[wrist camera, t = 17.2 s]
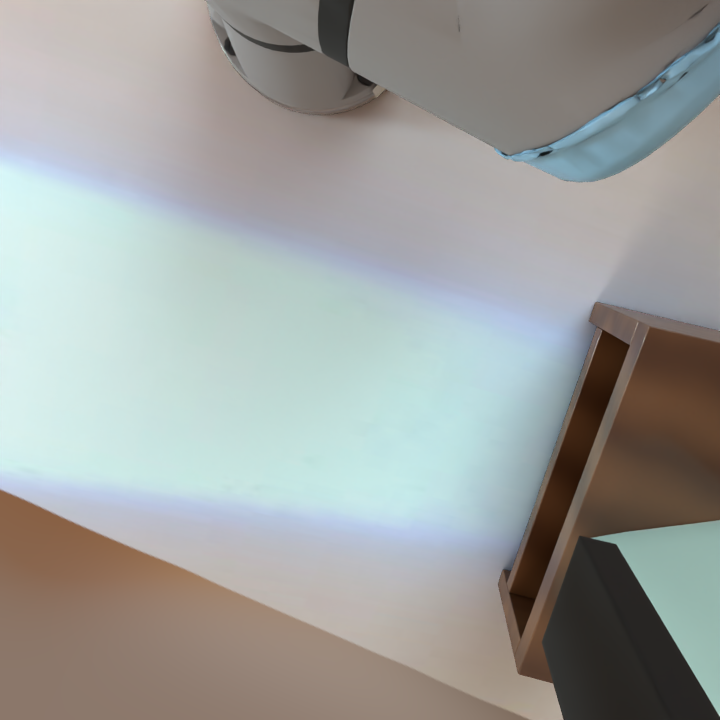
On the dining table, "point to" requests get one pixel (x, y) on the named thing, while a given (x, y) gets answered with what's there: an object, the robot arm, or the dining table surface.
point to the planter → (682, 589)
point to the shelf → (620, 459)
